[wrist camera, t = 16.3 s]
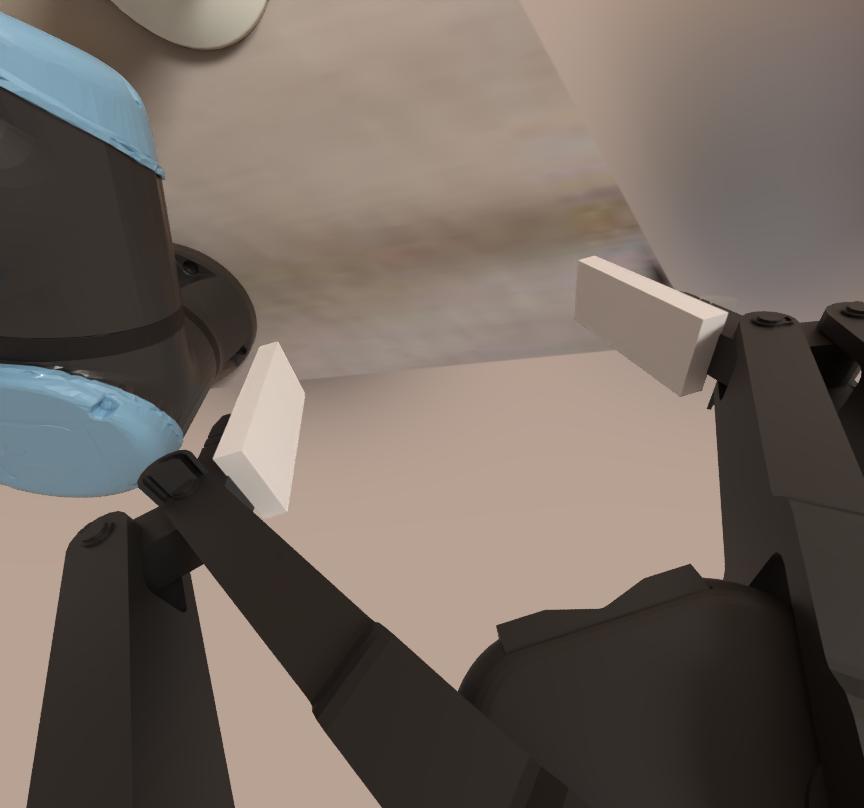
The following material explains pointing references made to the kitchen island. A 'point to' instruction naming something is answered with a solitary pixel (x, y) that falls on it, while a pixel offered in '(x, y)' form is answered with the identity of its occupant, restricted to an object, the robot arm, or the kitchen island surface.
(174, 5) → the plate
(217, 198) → the kitchen island surface
